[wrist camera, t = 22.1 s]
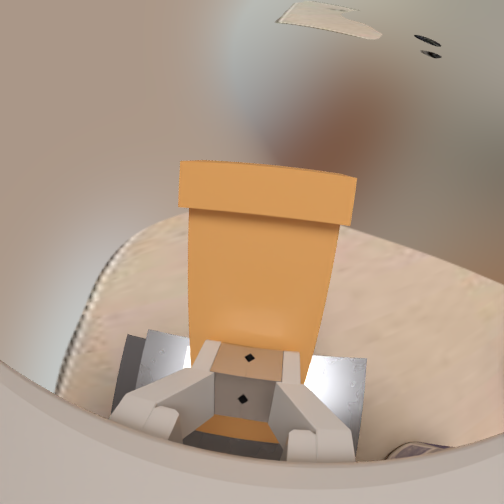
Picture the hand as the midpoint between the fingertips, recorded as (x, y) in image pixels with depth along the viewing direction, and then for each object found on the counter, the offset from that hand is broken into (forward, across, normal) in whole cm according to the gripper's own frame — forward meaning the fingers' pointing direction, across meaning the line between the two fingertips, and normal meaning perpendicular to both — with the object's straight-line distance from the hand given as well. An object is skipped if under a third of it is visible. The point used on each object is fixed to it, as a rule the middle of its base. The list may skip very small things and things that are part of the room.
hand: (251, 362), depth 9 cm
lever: (+1, 0, +5) cm, 5 cm away
